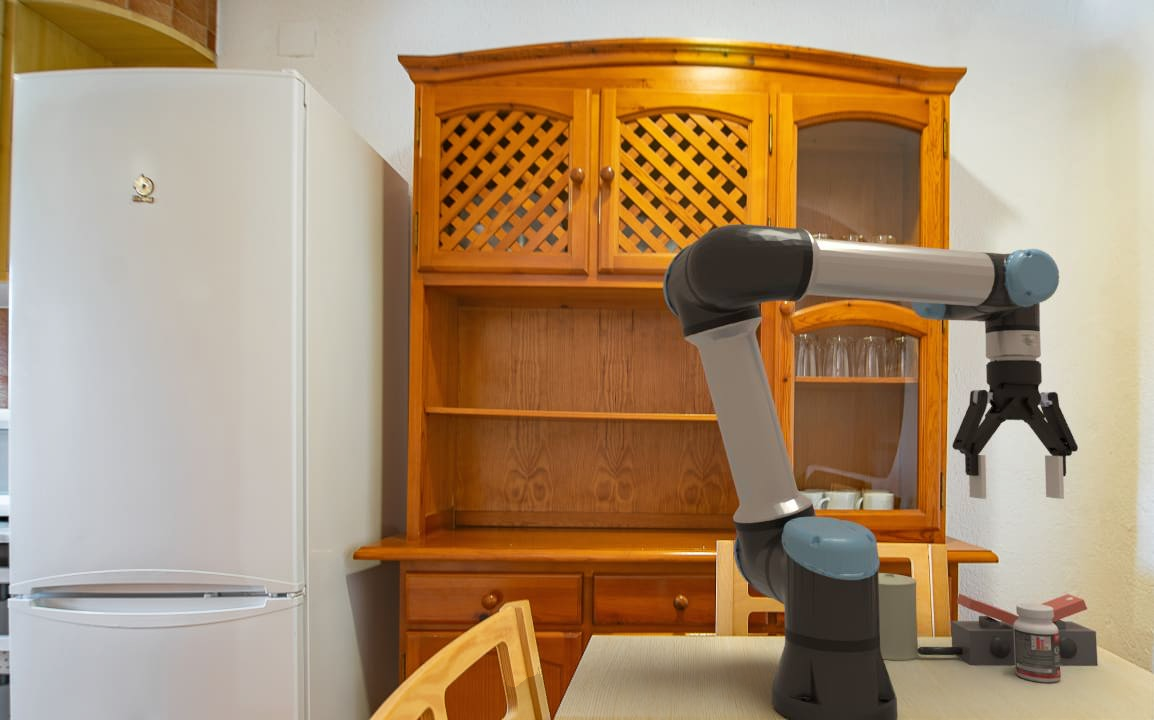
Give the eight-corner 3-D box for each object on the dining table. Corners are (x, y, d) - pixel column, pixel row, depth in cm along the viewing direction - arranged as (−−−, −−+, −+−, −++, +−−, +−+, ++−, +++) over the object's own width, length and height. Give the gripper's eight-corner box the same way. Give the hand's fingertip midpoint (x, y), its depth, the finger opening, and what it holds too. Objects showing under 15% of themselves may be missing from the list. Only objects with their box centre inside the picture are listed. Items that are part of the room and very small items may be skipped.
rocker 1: (968, 608, 121) (971, 598, 121) (956, 602, 125) (959, 593, 125) (1018, 627, 121) (1022, 617, 121) (1005, 620, 125) (1008, 611, 125)
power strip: (926, 664, 119) (925, 623, 120) (910, 653, 125) (909, 613, 126) (1098, 665, 119) (1095, 624, 120) (1073, 653, 125) (1071, 614, 126)
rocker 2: (1038, 627, 121) (1034, 617, 121) (1024, 620, 125) (1020, 611, 125) (1087, 609, 121) (1083, 599, 121) (1071, 603, 125) (1067, 593, 125)
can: (923, 649, 128) (921, 573, 128) (913, 664, 120) (911, 583, 121) (863, 640, 132) (862, 567, 133) (850, 654, 125) (849, 577, 125)
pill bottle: (1067, 685, 110) (1064, 612, 111) (1023, 682, 111) (1020, 610, 112) (1051, 672, 116) (1048, 603, 117) (1009, 669, 117) (1006, 601, 118)
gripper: (958, 355, 117) (961, 500, 116) (1101, 361, 122) (1106, 500, 121) (926, 359, 125) (929, 495, 123) (1062, 364, 130) (1067, 495, 128)
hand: (1016, 498), depth 122 cm, fingers open, 13 cm apart
